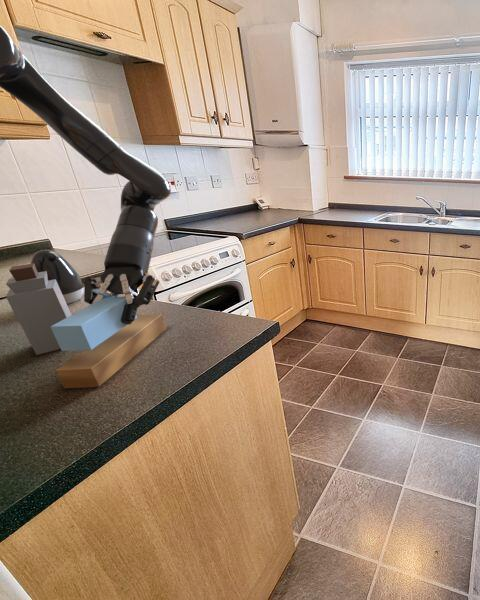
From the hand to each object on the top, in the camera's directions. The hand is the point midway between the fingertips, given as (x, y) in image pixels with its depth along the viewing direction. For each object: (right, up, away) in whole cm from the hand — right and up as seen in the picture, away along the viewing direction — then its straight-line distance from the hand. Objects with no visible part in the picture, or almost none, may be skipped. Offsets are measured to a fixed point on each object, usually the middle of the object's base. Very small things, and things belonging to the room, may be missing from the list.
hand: (111, 323), depth 68 cm
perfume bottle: (-18, -5, +7) cm, 20 cm away
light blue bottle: (0, -1, 0) cm, 1 cm away
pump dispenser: (-37, +4, +28) cm, 47 cm away
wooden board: (0, -7, +3) cm, 7 cm away
